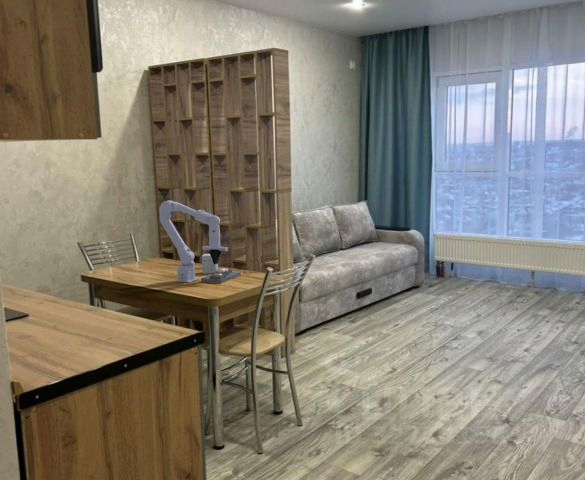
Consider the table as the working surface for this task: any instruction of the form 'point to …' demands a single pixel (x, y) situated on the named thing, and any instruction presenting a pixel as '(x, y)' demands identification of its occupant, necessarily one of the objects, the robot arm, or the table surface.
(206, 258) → the small box
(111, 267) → the table surface
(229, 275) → the button panel
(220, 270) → the cream button
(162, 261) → the table surface
